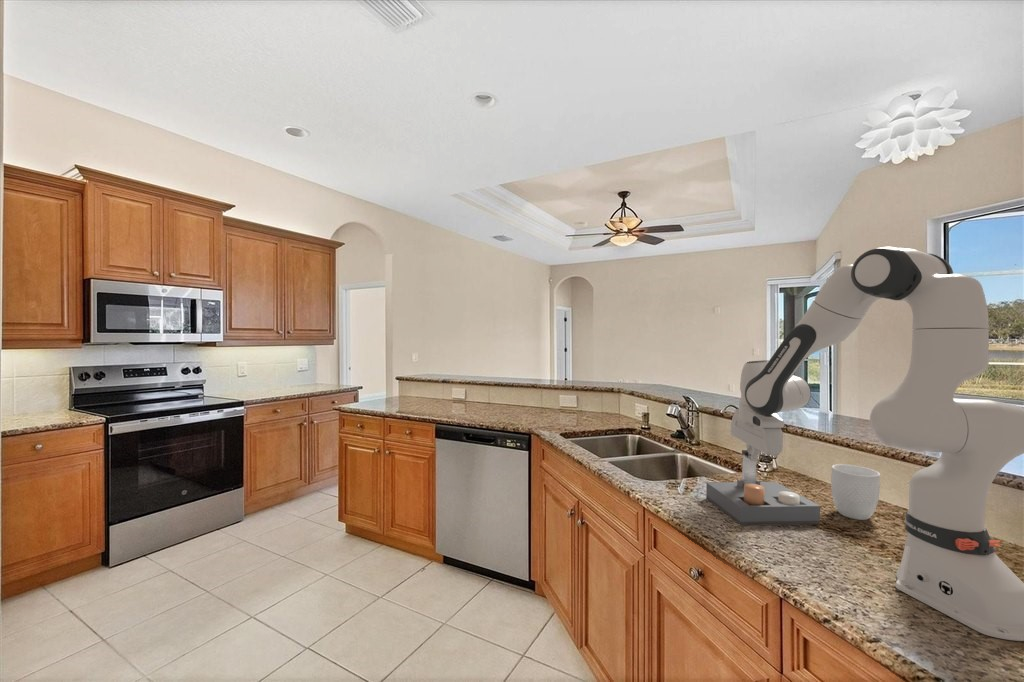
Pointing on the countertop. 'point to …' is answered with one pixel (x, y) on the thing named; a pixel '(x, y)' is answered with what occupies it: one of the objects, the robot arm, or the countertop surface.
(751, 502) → the terracotta button
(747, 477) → the lever
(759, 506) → the console
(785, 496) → the white button
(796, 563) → the countertop surface
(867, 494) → the mug
